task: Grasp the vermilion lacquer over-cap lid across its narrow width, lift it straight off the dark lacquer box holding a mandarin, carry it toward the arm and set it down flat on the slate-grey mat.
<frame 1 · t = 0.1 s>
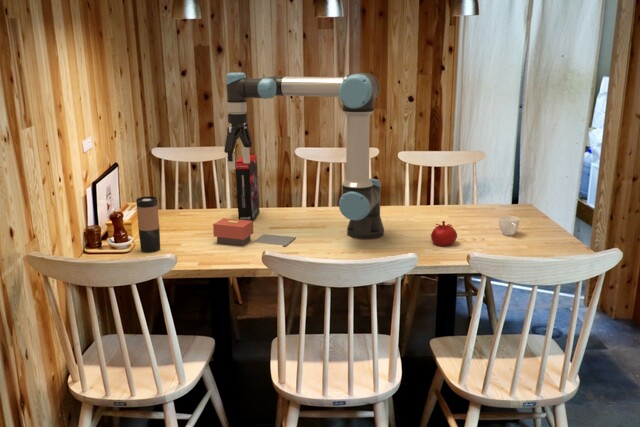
hand: (239, 166, 251), 28 cm above the table, fingers open, 13 cm apart
graphics card box: (248, 218, 281), on the table
cup: (509, 235, 254), on the table
travel mug: (150, 250, 238), on the table
lacquer box: (234, 243, 245), on the table
mat: (274, 241, 248), on the table
lid: (233, 234, 244), point 3 cm above the table, touching lacquer box
mandarin: (234, 241, 245), point 1 cm above the table, touching lacquer box
pomegranate: (443, 244, 244), on the table
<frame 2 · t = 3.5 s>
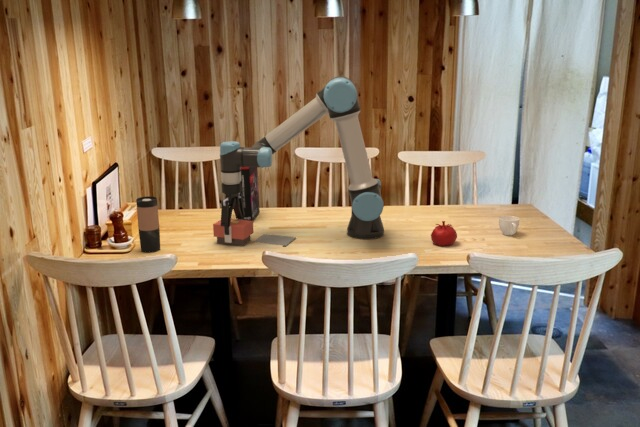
hand: (233, 238, 244), 2 cm above the table, fingers closed on lid, 9 cm apart
lid: (233, 234, 244), point 4 cm above the table, touching gripper, lacquer box
everything else where it was.
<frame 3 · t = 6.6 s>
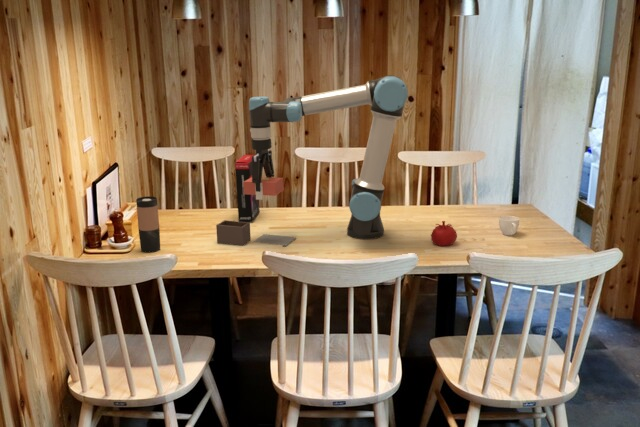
hand: (264, 196, 242), 18 cm above the table, fingers closed on lid, 9 cm apart
lid: (264, 192, 241), point 20 cm above the table, touching gripper
everything else where it was.
when the fingers open (2 cm above the table, at t = 10.1 s): lid drops 3 cm, resting on mat.
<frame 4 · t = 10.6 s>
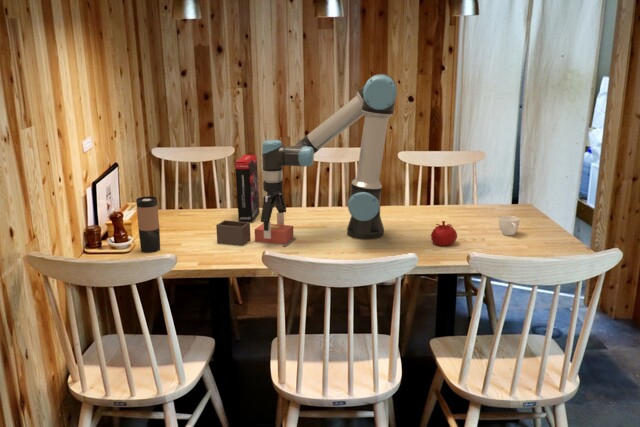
hand: (274, 233, 247), 3 cm above the table, fingers open, 13 cm apart
lid: (274, 239, 247), point 1 cm above the table, touching mat
everything else where it was.
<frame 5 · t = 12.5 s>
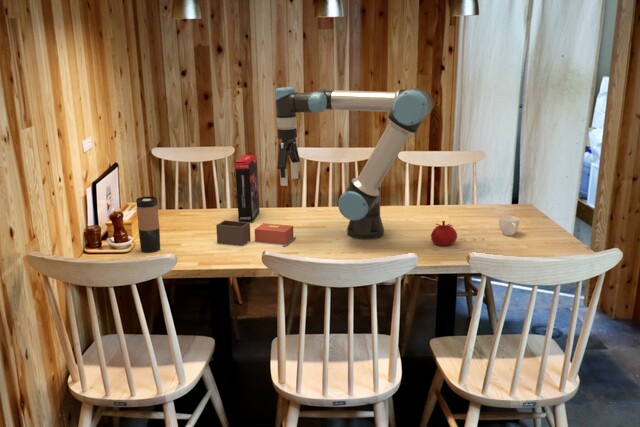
hand: (289, 182, 247), 23 cm above the table, fingers open, 13 cm apart
nothing on the table moved.
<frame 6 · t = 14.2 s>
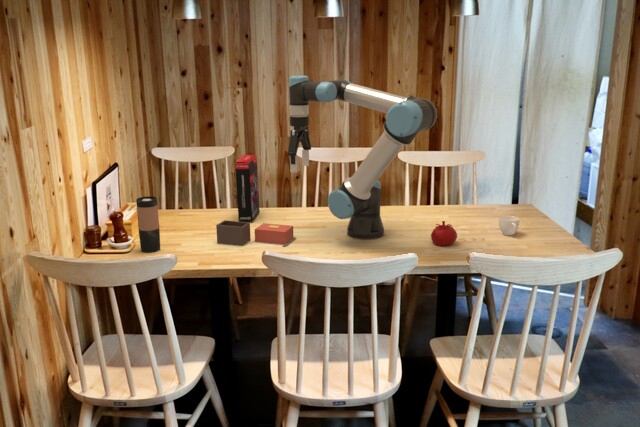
hand: (299, 168, 251), 27 cm above the table, fingers open, 13 cm apart
nothing on the table moved.
at the end: lid inside the target area on the mat (0.0 cm from its centre), point 0.6 cm above the mat's base; lid tilted 0°; the gripper is holding nothing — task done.
